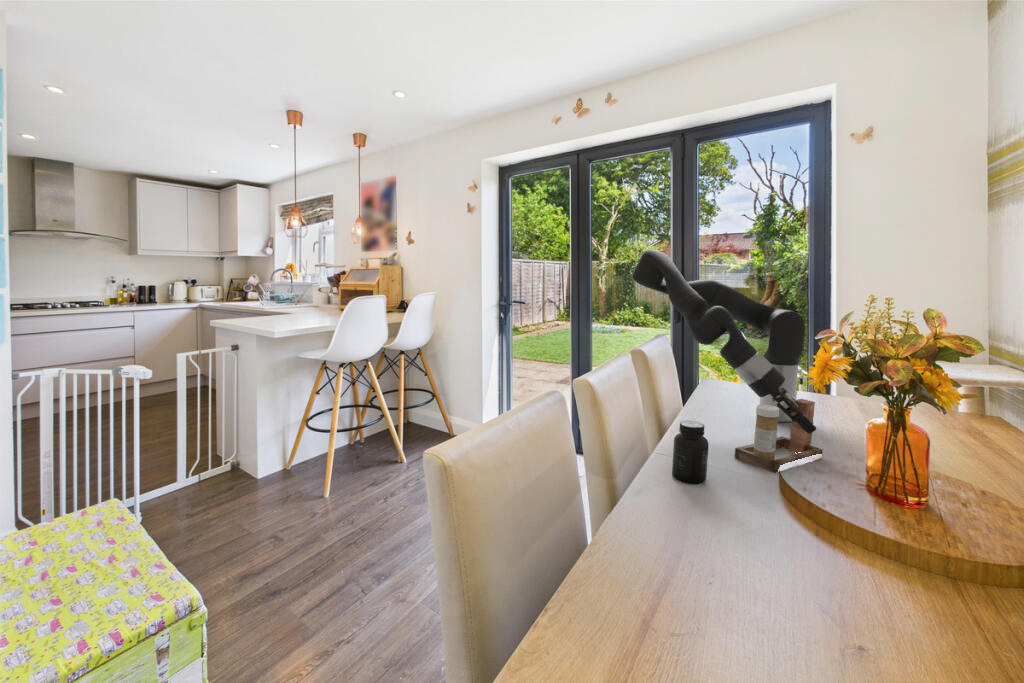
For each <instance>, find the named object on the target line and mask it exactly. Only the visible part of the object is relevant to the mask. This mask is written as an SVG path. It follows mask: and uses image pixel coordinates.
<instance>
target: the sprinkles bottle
mask: <svg viewBox="0 0 1024 683" xmlns="http://www.w3.org/2000/svg"><path fill="white" fill-rule="evenodd" d="M755 410H756V411H755V413H756V420H755V421H756V422H755V432H754V436H753V437H754V438H753V439H754V440H753V444H754V453H755V454H758V455H761V456H763V457H766V458H769V459H772V460H775V454H776V450H777V449H776V438H778V422H777V421H778V416H779V408H778V407H776V406H772V405H759V404H758V405H756V409H755ZM775 449H776V450H775Z"/></svg>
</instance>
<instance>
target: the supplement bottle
mask: <svg viewBox="0 0 1024 683" xmlns="http://www.w3.org/2000/svg"><path fill="white" fill-rule="evenodd" d="M678 430H679V431H678V432H679V433H677V434H676V435H675V436H674V437H673V446H672V447H673V448H672V449H673V450H672V451H673V452H672V465H671V467H672V468H671V476H672V478H674V479H675V480H676V481H678V482H679V483H683V484H687V485H694V486H695V485H696V486H697V485H702V484H703V483H705V482H706V481H707V473H708V461H709V460H708V458H709V446H710V445H709V440H708V438H707V437H705V436H704V435H705V425H704V423H702V422H699V421H694V420H683V421H680V423H679V428H678Z"/></svg>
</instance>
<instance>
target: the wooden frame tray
mask: <svg viewBox="0 0 1024 683" xmlns="http://www.w3.org/2000/svg"><path fill="white" fill-rule="evenodd" d="M794 401H795V402H796V403H797V404H798V405H799V410H800V411H801V412H802V413H804V415H805V417H806V418H807V419H808V420H809V421H810V422H811V423H812V424H813V425H814V423H813V422H814V414H815V405H816V401H813V400H808V399H804V398H799V399H796V400H794ZM793 406H794V405H793ZM796 414H798V413H797V412H796V411H794V412H793V413H792V415H793V416H794V415H796ZM790 422H791V423H790V424H791V425H790V436H789V438H788V437H785V436H777V438H776V449H775V451H776V450H780V449H785V450H788V452H790V453H793V454H790V455H787V456H783V457H780V458H777V459H774V460H772V459H769V458H766V457H763V456H761V455H758V454H755V453H754V443H750V444H747V445H742V446H738V447H735V448H734V459H737V460H739V461H742V462H744V463H746V464H749V465H752V466H754V467H757V468H759V469H762V470H764V471H767V472H770V473H772V474H778V473H779V472H778V469H779V467H780V465H783V464H785V463H788V462H792V461H795V460H798V459H802V458H805V457H809V456H812V455H816V454H822V455H823V453H824V452H823V451H824V449H823V448H820V447H817V446H813V445H812V438H813V437H812V435H813V432H812V433H810V434H808V433H807V432H806V431H805V430H804V429H803V428H802V427H801V426H800V425H799V424H798V423H797V422H794V421H790ZM795 452H796V453H797V454H795ZM798 452H801V453H798Z"/></svg>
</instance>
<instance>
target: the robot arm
mask: <svg viewBox="0 0 1024 683" xmlns="http://www.w3.org/2000/svg"><path fill="white" fill-rule="evenodd" d="M631 276H632V279H633V281H634V282H635V283H637V284H639V285H640V286H642V287H645V288H647V289H650V290H654V291H656V292H660V293H662V294H666V295H668V298H669V301H670V303H671V304H672V306H673V307H674V308H675V309H676V310H677V311H678V313H679V314H680V315H681V316H682V317H683V318H684V320H685V321H686V323H687V325H688V328H689V330H690V333H691V335H692V337H693V338H694V340H695V341H696V342H698V343H699V344H700V345H705V346H708V345H711V344H713V343H714V342H717V340H718V339H719V338H721V337H722V336H723V335H724V334H725V333H727V332H728V335H729V337H728V340H727V341H726V343H725V344H723V347H721V349H720V351H719V354H720V355H721V357H722V358H723V359H724V360H725V362H727V364H728V365H730V367H731V368H732V369H733V370H734V371H735V373H737V376H739V378H740V379H741V380H742V381H743V382H744V383H745V384H746V385H747V386H748V387H749V388H750V389H751V390H752V391H753V392H754V393H755V394H756V395H757V397H759V404H758V405H772V406H776V407H778V408H779V416H778V421H777V423H778V422H779V423H789V422H792V421H794V422H797V423H798V424H799V425H800V426H801V427H802V428H803V429H804V430H805V431H806V432H807V433H808V434H810V433H812V434H813V433H814V432H815V431H816V430H817V427H816V426H815V425H814V421H813V424H812V423H811V422H810V421H809V420H808V419H807V418H806V417H805V415H804V413H802V412H801V411H800V410H799V405H798V404H797V403H796V402H795V401H794V400H797V395H798V388H797V384H798V373H799V371H798V370H799V361H800V359H801V356H802V355H803V350H804V344H805V335H806V322H805V319H804V317H803V316H802V315H801V314H799V313H798V312H796V311H794V310H789V309H783V308H778V307H773V306H770V305H766V304H764V303H760V302H757V301H756V300H753V299H752V298H750V297H749V296H747V295H746V294H744V293H742V292H741V291H739V290H737V289H735V288H733V287H731V286H730V285H726V284H724V283H721V282H719V281H717V280H714V279H711V278H710V279H708V278H707V279H698V280H691V281H687V280H686V279H685V278H684V276H683V274H682V273H681V272H680V270H679V268H678V267H677V266H676V265H675V263H674V262H673V260H672V259H671V258H670V257H669V255H667V254H666V253H664V252H662V251H660V250H657V249H652V248H648V249H646V250H644V252H643V253H642V255H641V257H640V258H639V260H638V262H637V264H636V266H635V269H634V270H633V272H632V275H631ZM736 321H738V322H742V323H744V324H746V325H748V326H750V327H752V328H753V329H755V330H758V331H759V332H762V333H763V334H764V335H767V336H769V337H768V345H767V349H766V350H765V352H764V353H763V355H762V354H761V353H760V352H759V351H757V349H756V348H755V347H754V346H753V345H752V344H751V343H750V342H749V341H748V340H747V339H746V338H745V336H744V335H743V334H742V333H741V331H740V329H739V327H738V326H737V324H736ZM793 405H794V406H793ZM794 411H796V412H797V413H798V414H796V415H794V416H793V415H792V413H793V412H794Z"/></svg>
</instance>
